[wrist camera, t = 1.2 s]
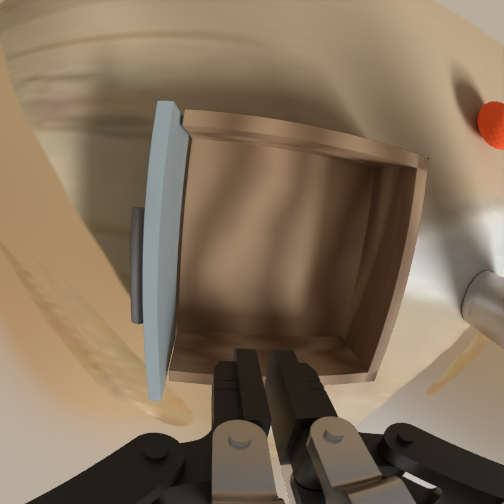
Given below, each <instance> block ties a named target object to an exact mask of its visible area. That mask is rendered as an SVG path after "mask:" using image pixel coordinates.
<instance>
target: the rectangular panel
mask: <svg viewBox="0 0 504 504" xmlns="http://www.w3.org/2000/svg"><path fill="white" fill-rule="evenodd" d="M183 118H184V117H183V115H182V114H181V112H180V110H179V109H178V107H177V106H176V104H175V103H174V101H157V107H156V113H155V120H154V127H153V134H152V141H151V149H150V158H149V167H148V177H147V188H146V201H145V208H140V207H135V208H132V215H131V241H130V293H131V318H132V322H133V323H135V324H141V323H143V325H144V346H145V361H146V374H147V385H148V395H149V400H153V401H160V402H161V400H162V395H163V390H164V386H165V381H166V375H167V371H168V367H169V362H170V358H171V354H172V349H173V345H174V341H175V314H176V281H177V260H178V243H179V229H180V216H181V204H182V193H183V183H184V174H185V165H186V156H187V148H188V140H189V133H188V132H187V131H186V129H185V128H184V127H183Z"/></svg>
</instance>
